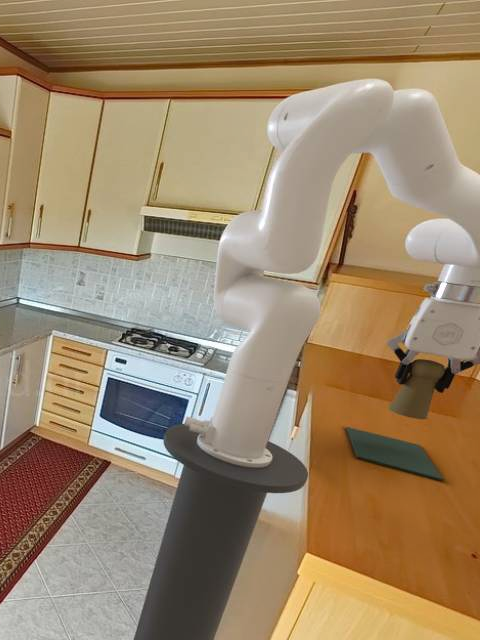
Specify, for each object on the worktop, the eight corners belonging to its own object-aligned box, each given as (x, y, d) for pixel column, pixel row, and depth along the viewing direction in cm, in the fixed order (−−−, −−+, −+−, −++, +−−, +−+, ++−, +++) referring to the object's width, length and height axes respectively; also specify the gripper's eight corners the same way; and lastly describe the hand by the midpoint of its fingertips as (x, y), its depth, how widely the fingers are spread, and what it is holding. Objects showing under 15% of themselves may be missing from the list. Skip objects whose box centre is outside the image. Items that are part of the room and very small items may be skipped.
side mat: (356, 458, 96) (357, 456, 96) (346, 428, 111) (347, 426, 111) (442, 481, 90) (443, 479, 90) (418, 447, 105) (419, 444, 105)
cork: (398, 415, 95) (422, 362, 92) (381, 404, 101) (403, 354, 97) (434, 421, 94) (459, 367, 90) (415, 410, 100) (438, 359, 96)
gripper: (405, 288, 90) (368, 380, 97) (533, 305, 82) (483, 404, 89) (397, 285, 96) (362, 371, 103) (515, 300, 88) (470, 393, 95)
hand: (419, 385), depth 96 cm, fingers closed on cork, 5 cm apart
